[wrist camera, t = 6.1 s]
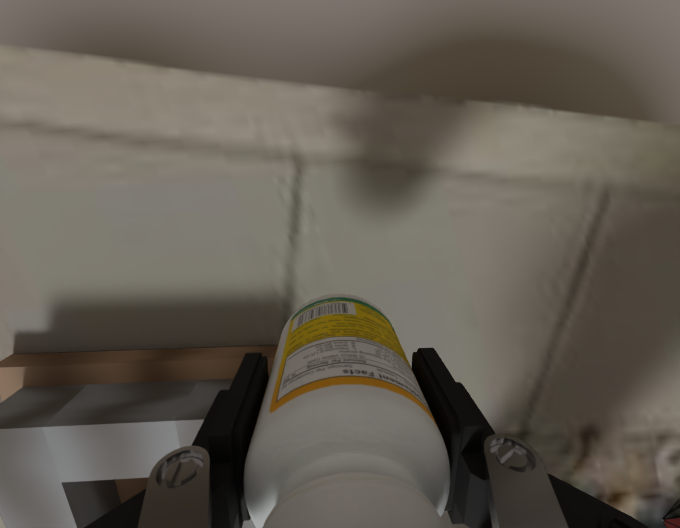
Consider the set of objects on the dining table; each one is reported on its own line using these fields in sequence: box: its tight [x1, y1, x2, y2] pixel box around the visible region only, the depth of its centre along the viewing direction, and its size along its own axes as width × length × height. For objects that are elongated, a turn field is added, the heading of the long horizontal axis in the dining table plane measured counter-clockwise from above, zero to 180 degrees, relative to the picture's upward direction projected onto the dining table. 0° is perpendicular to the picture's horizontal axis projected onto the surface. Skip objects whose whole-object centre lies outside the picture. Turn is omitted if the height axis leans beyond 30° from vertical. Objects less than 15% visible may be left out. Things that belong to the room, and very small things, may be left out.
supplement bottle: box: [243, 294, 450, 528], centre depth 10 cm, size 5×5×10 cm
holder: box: [0, 345, 278, 528], centre depth 22 cm, size 18×18×5 cm
